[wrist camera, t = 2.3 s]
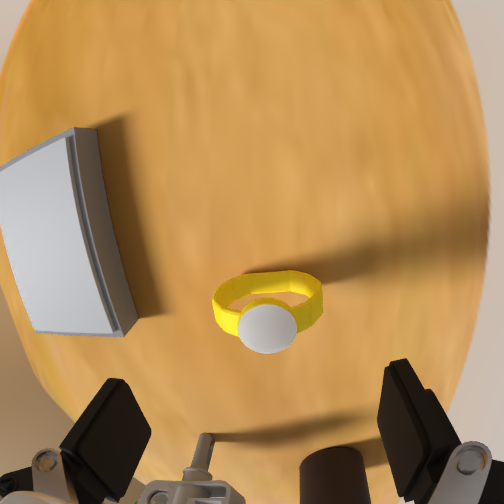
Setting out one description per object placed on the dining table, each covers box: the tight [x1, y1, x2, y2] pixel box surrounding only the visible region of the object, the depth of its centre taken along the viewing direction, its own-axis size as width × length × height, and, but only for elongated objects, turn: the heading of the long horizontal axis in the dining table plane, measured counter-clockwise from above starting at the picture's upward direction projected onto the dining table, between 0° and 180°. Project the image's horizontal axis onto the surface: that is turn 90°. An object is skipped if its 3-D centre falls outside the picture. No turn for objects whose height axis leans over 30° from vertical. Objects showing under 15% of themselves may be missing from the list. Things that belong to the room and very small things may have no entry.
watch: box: [212, 269, 323, 354], centre depth 16 cm, size 6×3×6 cm, turn 97°
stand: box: [0, 127, 139, 337], centre depth 18 cm, size 14×10×3 cm
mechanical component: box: [135, 433, 246, 504], centre depth 19 cm, size 3×10×10 cm, turn 114°
